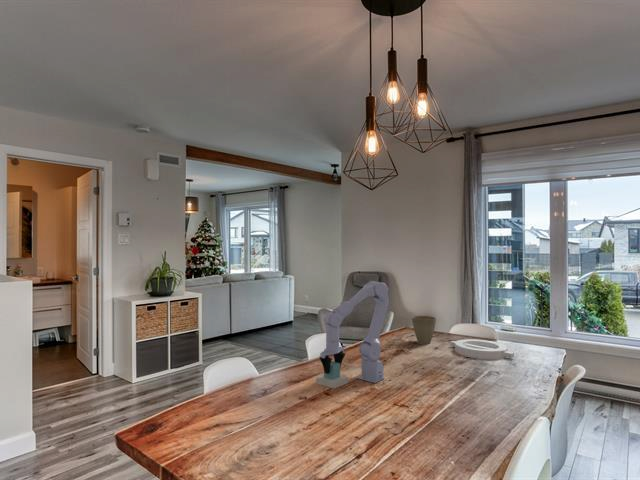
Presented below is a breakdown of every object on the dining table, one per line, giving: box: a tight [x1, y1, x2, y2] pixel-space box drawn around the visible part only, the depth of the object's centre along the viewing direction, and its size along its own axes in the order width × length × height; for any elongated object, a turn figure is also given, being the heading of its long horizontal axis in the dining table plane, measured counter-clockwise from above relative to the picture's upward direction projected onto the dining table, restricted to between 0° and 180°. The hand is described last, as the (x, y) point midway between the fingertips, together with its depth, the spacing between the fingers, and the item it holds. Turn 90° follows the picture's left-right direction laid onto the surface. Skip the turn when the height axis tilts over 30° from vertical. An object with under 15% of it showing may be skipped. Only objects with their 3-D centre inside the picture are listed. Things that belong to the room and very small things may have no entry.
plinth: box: [315, 374, 349, 389], centre depth 173 cm, size 10×10×2 cm
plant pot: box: [411, 315, 437, 345], centre depth 250 cm, size 15×15×16 cm
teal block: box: [323, 361, 341, 380], centre depth 173 cm, size 5×5×6 cm
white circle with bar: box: [449, 338, 515, 360], centre depth 227 cm, size 28×28×5 cm
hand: (332, 371), depth 173 cm, fingers open, 7 cm apart
